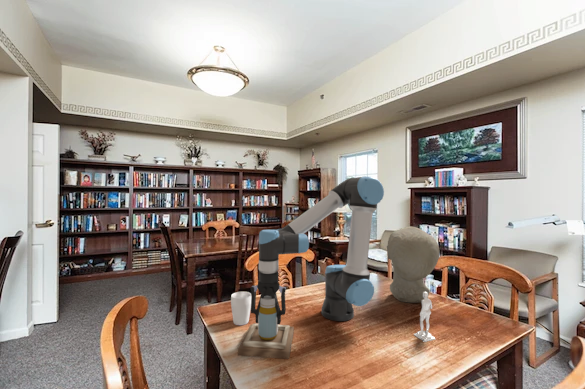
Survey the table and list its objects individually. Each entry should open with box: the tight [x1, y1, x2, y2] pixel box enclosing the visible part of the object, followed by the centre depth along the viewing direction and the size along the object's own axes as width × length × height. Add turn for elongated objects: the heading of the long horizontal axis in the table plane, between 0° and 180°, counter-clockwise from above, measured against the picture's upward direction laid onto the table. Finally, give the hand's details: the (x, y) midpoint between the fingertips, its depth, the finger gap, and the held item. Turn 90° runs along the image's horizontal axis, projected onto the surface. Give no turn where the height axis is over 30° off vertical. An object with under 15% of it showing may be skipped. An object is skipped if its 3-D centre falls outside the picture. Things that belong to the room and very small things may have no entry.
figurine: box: [413, 292, 436, 343], centre depth 111 cm, size 8×7×18 cm
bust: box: [386, 225, 440, 304], centre depth 146 cm, size 25×28×40 cm
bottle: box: [259, 296, 278, 340], centre depth 105 cm, size 7×7×15 cm
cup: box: [230, 291, 252, 326], centre depth 123 cm, size 9×9×12 cm
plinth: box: [237, 322, 295, 360], centre depth 105 cm, size 18×18×4 cm
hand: (268, 331), depth 105 cm, fingers closed on bottle, 6 cm apart
